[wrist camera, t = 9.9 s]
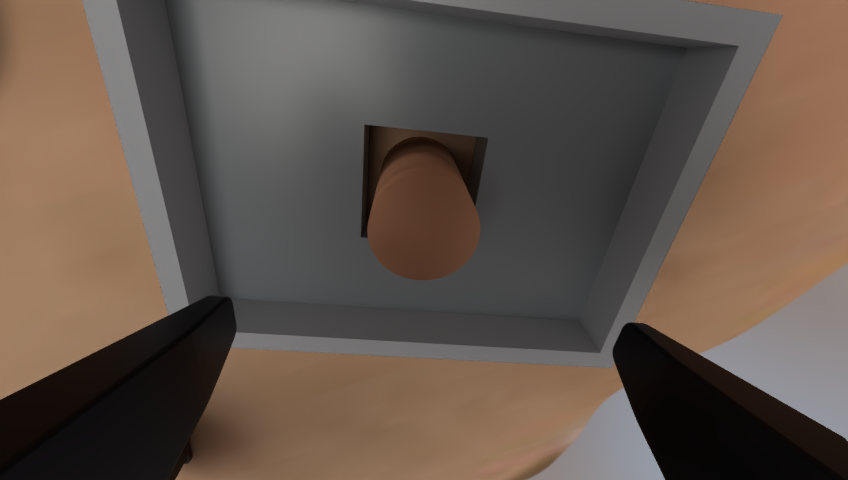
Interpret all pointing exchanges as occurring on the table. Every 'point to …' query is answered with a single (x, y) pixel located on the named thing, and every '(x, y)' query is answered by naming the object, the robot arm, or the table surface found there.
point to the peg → (422, 212)
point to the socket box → (435, 112)
